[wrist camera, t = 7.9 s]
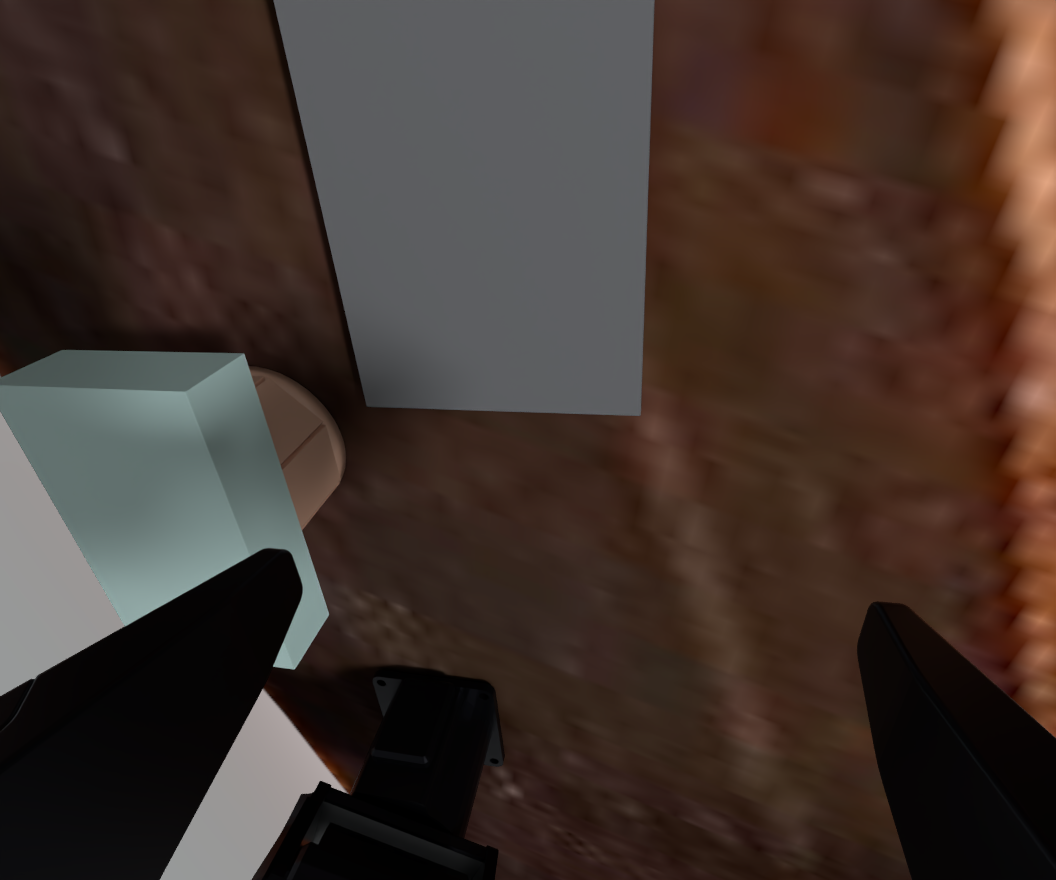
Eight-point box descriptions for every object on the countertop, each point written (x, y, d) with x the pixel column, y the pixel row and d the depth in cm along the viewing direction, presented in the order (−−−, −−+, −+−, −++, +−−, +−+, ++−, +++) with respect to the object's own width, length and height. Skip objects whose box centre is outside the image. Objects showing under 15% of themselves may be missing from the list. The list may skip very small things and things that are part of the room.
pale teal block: (329, 614, 23) (294, 669, 21) (183, 597, 25) (137, 648, 23) (244, 353, 18) (185, 391, 16) (62, 349, 19) (-16, 384, 17)
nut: (361, 508, 26) (315, 572, 22) (226, 498, 27) (164, 558, 24) (324, 367, 22) (264, 418, 19) (172, 364, 24) (91, 411, 20)
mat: (640, 407, 21) (640, 416, 20) (373, 399, 23) (366, 406, 22) (658, -139, 14) (658, -147, 13) (266, -81, 16) (253, -85, 15)
